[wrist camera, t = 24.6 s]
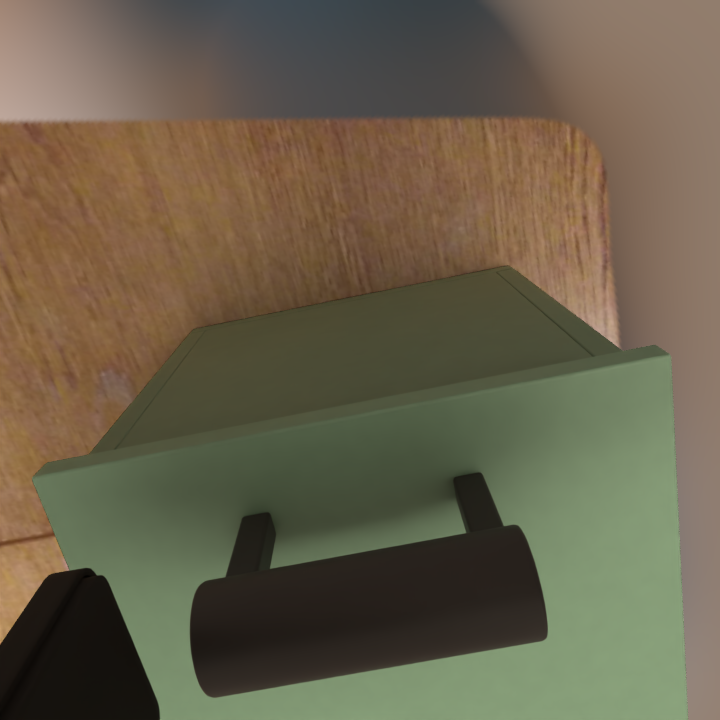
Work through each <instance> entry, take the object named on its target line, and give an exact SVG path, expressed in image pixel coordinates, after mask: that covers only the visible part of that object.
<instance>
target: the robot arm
mask: <svg viewBox="0 0 720 720" xmlns="http://www.w3.org/2000/svg"><path fill="white" fill-rule="evenodd" d="M0 720H160V709H159V704H158V701H157V698H156V696H155V694H154V691H153V689H152V686H151V684H150V681H149V679H148V677H147V674H146V672H145V669H144V667H143V664H142V662H141V660H140V657H139V655H138V652H137V650H136V648H135V645H134V643H133V640H132V638H131V635H130V633H129V631H128V628H127V626H126V623H125V621H124V619H123V616H122V614H121V611H120V609H119V606H118V604H117V602H116V599H115V597H114V594H113V592H112V589H111V587H110V585H109V582H108V581H107V579H106V578H105V577H104V576H102V575H96V573H95V572H94V571H93V570H92V569H91V568H81V569H76V570H70V571H64V572H59V573H53V574H51V575H49V576H48V577H47V578H46V579H45V580H44V581H43V583H42V584H41V586H40V587H39V588H38V590H37V591H36V593H35V594H34V596H33V597H32V599H31V600H30V602H29V603H28V605H27V606H26V608H25V609H24V611H23V612H22V614H21V615H20V616H19V618H18V619H17V621H16V622H15V624H14V625H13V627H12V628H11V630H10V631H9V633H8V634H7V636H6V637H5V639H4V640H3V642H2V643H1V645H0Z"/></svg>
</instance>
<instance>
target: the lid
mask: <svg viewBox="0 0 720 720" xmlns="http://www.w3.org/2000/svg"><path fill="white" fill-rule="evenodd" d="M32 481H33V483H34V486H35V488H36V491H37V493H38V496H39V498H40V500H41V503H42V505H43V508H44V510H45V512H46V515H47V517H48V520H49V522H50V524H51V527H52V529H53V532H54V534H55V537H56V539H57V541H58V544H59V546H60V549H61V551H62V553H63V556H64V558H65V561H66V563H67V565H68V568H69V570H76V569H81V568H91V569H92V570H93V571H94V572H95V573H96V575H102V576H104V577H105V578H106V579H107V581H108V582H109V585H110V587H111V589H112V592H113V594H114V597H115V599H116V602H117V604H118V606H119V609H120V611H121V614H122V616H123V619H124V621H125V623H126V626H127V628H128V631H129V633H130V635H131V638H132V640H133V643H134V645H135V648H136V650H137V652H138V655H139V657H140V660H141V662H142V664H143V667H144V669H145V672H146V674H147V677H148V679H149V681H150V684H151V686H152V689H153V691H154V694H155V696H156V698H157V701H158V704H159V709H160V720H688V706H687V687H686V664H685V645H684V621H683V600H682V580H681V557H680V538H679V515H678V494H677V473H676V451H675V431H674V409H673V388H672V366H671V356H670V354H669V353H667V352H665V351H664V350H662V349H661V348H659V347H658V346H656V345H651V346H646V347H641V348H636V349H631V350H626V351H620V352H615V353H610V354H605V355H600V356H595V357H589V358H584V359H579V360H574V361H569V362H564V363H558V364H553V365H548V366H543V367H538V368H533V369H527V370H522V371H517V372H512V373H507V374H502V375H497V376H491V377H486V378H481V379H476V380H471V381H466V382H460V383H455V384H450V385H445V386H440V387H435V388H429V389H424V390H419V391H414V392H409V393H404V394H398V395H393V396H388V397H383V398H378V399H373V400H368V401H362V402H357V403H352V404H347V405H342V406H337V407H331V408H326V409H321V410H316V411H311V412H306V413H300V414H295V415H290V416H285V417H280V418H275V419H270V420H264V421H259V422H254V423H249V424H244V425H239V426H233V427H228V428H223V429H218V430H213V431H208V432H202V433H197V434H192V435H187V436H182V437H177V438H172V439H166V440H161V441H156V442H151V443H146V444H141V445H135V446H130V447H125V448H120V449H115V450H110V451H104V452H99V453H94V454H89V455H84V456H79V457H74V458H68V459H63V460H58V461H53V462H48V463H46V464H45V465H44V466H43V467H42V468H41V469H40V470H39V471H38V472H37V473H36V474H35V475H34V476H33V477H32Z"/></svg>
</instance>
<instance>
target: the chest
mask: <svg viewBox="0 0 720 720" xmlns="http://www.w3.org/2000/svg"><path fill="white" fill-rule="evenodd" d="M620 351H622V350H621V349H620V348H618V347H617V346H616V345H614V344H613V343H612V342H610V341H609V340H608V339H606V338H605V337H604V336H602V335H601V334H600V333H598V332H597V331H596V330H594V329H593V328H592V327H590V326H589V325H588V324H586V323H585V322H584V321H582V320H581V319H580V318H578V317H577V316H576V315H574V314H573V313H572V312H570V311H569V310H568V309H566V308H565V307H564V306H562V305H561V304H560V303H559V302H557V301H556V300H555V299H553V298H552V297H551V296H549V295H548V294H547V293H545V292H544V291H543V290H541V289H540V288H539V287H537V286H536V285H535V284H533V283H532V282H531V281H529V280H528V279H527V278H525V277H524V276H523V275H521V274H520V273H519V272H517V271H516V270H515V269H513V268H512V267H510V266H504V267H499V268H494V269H489V270H484V271H479V272H474V273H469V274H464V275H459V276H454V277H449V278H444V279H439V280H434V281H429V282H424V283H419V284H415V285H410V286H405V287H400V288H395V289H390V290H385V291H380V292H375V293H370V294H365V295H360V296H355V297H350V298H345V299H340V300H335V301H330V302H325V303H320V304H315V305H310V306H306V307H301V308H296V309H291V310H286V311H281V312H276V313H271V314H266V315H261V316H256V317H251V318H246V319H241V320H236V321H231V322H226V323H221V324H216V325H211V326H206V327H201V328H197V329H193V330H192V331H191V333H190V334H189V335H188V336H187V337H186V338H185V340H184V341H183V342H182V343H181V344H180V346H179V347H178V348H177V349H176V350H175V352H174V353H173V354H172V355H171V356H170V358H169V359H168V360H167V361H166V362H165V363H164V365H163V366H162V367H161V368H160V369H159V371H158V372H157V373H156V374H155V375H154V377H153V378H152V379H151V380H150V381H149V383H148V384H147V385H146V386H145V387H144V389H143V390H142V391H141V392H140V393H139V395H138V396H137V397H136V398H135V399H134V401H133V402H132V403H131V404H130V405H129V407H128V408H127V409H126V410H125V411H124V413H123V414H122V415H121V416H120V417H119V419H118V420H117V421H116V422H115V423H114V425H113V426H112V427H111V428H110V429H109V431H108V432H107V433H106V434H105V435H104V437H103V438H102V439H101V440H100V441H99V443H98V444H97V445H96V446H95V447H94V449H93V450H92V451H91V452H90V453H89V454H94V453H99V452H104V451H110V450H115V449H120V448H125V447H130V446H135V445H141V444H146V443H151V442H156V441H161V440H166V439H172V438H177V437H182V436H187V435H192V434H197V433H202V432H208V431H213V430H218V429H223V428H228V427H233V426H239V425H244V424H249V423H254V422H259V421H264V420H270V419H275V418H280V417H285V416H290V415H295V414H300V413H306V412H311V411H316V410H321V409H326V408H331V407H337V406H342V405H347V404H352V403H357V402H362V401H368V400H373V399H378V398H383V397H388V396H393V395H398V394H404V393H409V392H414V391H419V390H424V389H429V388H435V387H440V386H445V385H450V384H455V383H460V382H466V381H471V380H476V379H481V378H486V377H491V376H497V375H502V374H507V373H512V372H517V371H522V370H527V369H533V368H538V367H543V366H548V365H553V364H558V363H564V362H569V361H574V360H579V359H584V358H589V357H595V356H600V355H605V354H610V353H615V352H620Z"/></svg>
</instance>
